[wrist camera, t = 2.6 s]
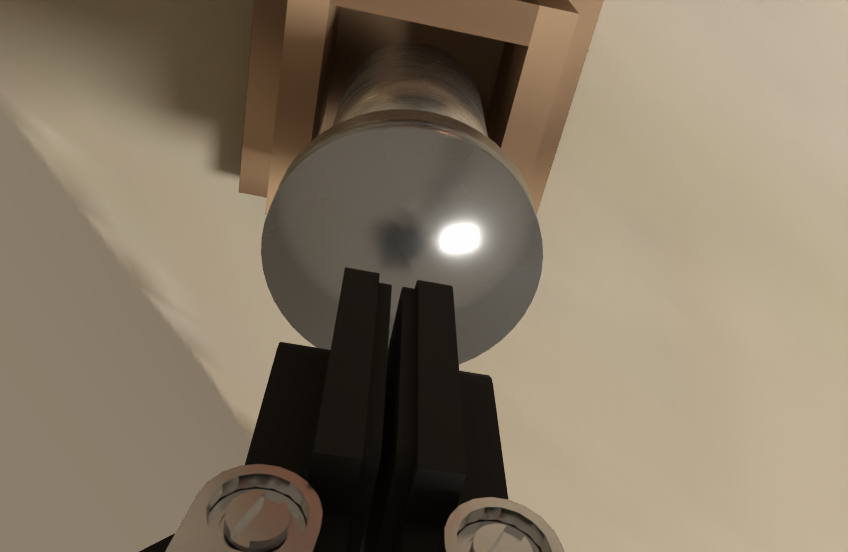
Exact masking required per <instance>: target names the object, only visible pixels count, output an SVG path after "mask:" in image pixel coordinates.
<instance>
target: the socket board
mask: <svg viewBox="0 0 848 552" xmlns="http://www.w3.org/2000/svg"><path fill="white" fill-rule="evenodd" d="M603 1H604V0H255V2H254V14H253V26H252V38H251V50H250V62H249V74H248V86H247V98H246V110H245V122H244V134H243V146H242V158H241V170H240V182H239V192H240V193H246V194H251V195H257V196H262V197H267V202H266V212H265V214H266V215H267V214H268V211H269V208H270V206H271V203H272V201H273V198H274V196H275V194H276V191H277V189H278V186H279V184H280V182H281V180H282V178H283V176H284V174H285V172H286V170H287V168H288V167H289V166H290V164H291V163H292V162H293V160H294V159H295V157H296V156H297V155H298V154H299V153H300V152H301V151H302V150H303V149H304V148H305V147H306V146H307V144H308V143H309V142H311V141H312V140H313V139H315V138H316V137H317V136H319V135H320V134H321V133H323V132H324V131H326V130H327V129H329V128H331V127H332V126H333V122H334V119H335V116H336V113H337V110H338V107H339V104H340V101H341V97H342V94H343V91H344V88H345V86H346V83H347V81H348V79H349V77H350V75H351V74H352V72H353V71H354V70H355V68H356V67H357V66H358V65H359V64H360V63H361V62H362V61H363V60H364V59H365V58H367V57H368V56H369V55H370V54H372V53H374V52H376V51H377V50H379V49H381V48H384V47H386V46H389V45H393V44H397V43H405V42H417V43H424V44H428V45H432V46H435V47H438V48H440V49H442V50H444V51H446V52H448V53H449V54H451V55H453V56H454V57H455V58H456V59H458V60H459V61H460V62H461V63H462V64H463V65H464V66H465V67H466V68H467V70H468V71H469V73H470V74H471V75H472V77H473V79H474V81H475V83H476V85H477V88H478V90H479V94H480V98H481V103H482V108H483V113H484V119H485V124H486V130H487V135H488V138H489V139H491V140H492V141H493V142H495V143H496V144H497V145H498V146H499V147H500V148H501V149H502V150H503V151H504V152H505V153H506V154H507V155H508V156H509V158H510V159H511V160H512V162H513V163H514V164H515V166H516V167H517V168H518V170H519V171H520V173H521V175H522V177H523V179H524V181H525V182H526V184H527V187H528V190H529V193H530V195H531V198H532V201H533V205H534V209H535V212H536V214H537V211H538V208H539V205H540V202H541V198H542V195H543V192H544V189H545V186H546V182H547V179H548V176H549V173H550V170H551V167H552V163H553V160H554V157H555V154H556V151H557V147H558V144H559V141H560V138H561V135H562V131H563V128H564V125H565V122H566V119H567V116H568V112H569V109H570V106H571V103H572V100H573V96H574V93H575V90H576V87H577V84H578V81H579V77H580V74H581V71H582V68H583V65H584V61H585V58H586V55H587V52H588V49H589V45H590V42H591V39H592V36H593V33H594V30H595V26H596V23H597V20H598V17H599V14H600V10H601V7H602V4H603Z"/></svg>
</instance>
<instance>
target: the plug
mask: <svg viewBox="0 0 848 552" xmlns="http://www.w3.org/2000/svg"><path fill="white" fill-rule="evenodd" d="M261 256H262V264H263V271H264V275H265V278H266V282H267V286H268V288H269V290H270V293H271V295H272V297H273V299H274V301H275V303H276V305H277V306H278V308H279V309H280V311H281V313H282V314H283V316H284V317H285V318H286V319H287V321H288V322H289V323H290V324H291V325H292V327H293V328H294V329H295V330H296V331H297V332H299V333H300V334H301V335H302V336H303V337H304V338H305V339H306V340H308V341H309V342H310V343H311V344H313V345H314V346H315V347H317V348H321V349H327V350H331V344H332V339H333V333H334V327H335V321H336V316H337V310H338V304H339V299H340V293H341V287H342V281H343V276H344V270H345V267H347V268H353V269H358V270H364V271H370V272H376V273H380V276H379V283H385V284H391V285H392V292H391V308H390V325H389V341H388V347H389V343H390V338H391V333H392V329H393V324H394V320H395V315H396V311H397V306H398V302H399V297H400V293H401V289H402V287H408V288H415V285H416V282H417V280H422V281H428V282H434V283H439V284H445V285H451V286H453V295H454V308H455V322H456V335H457V349H458V363H459V364H461V363H463V362H466V361H468V360H470V359H473V358H475V357H477V356H478V355H480V354H482V353H483V352H485V351H487V350H489V349H490V348H491V347H493V346H494V345H495V344H497V343H498V342H499V341H501V340H502V339H503V338H504V337H505V336H506V335H507V334H508V333H509V332H510V331H511V330H512V329H513V328H514V327H515V326H516V324H517V323H518V322H519V321H520V319H521V318H522V317H523V316H524V314H525V312H526V310H527V309H528V307H529V305H530V304H531V302H532V300H533V297H534V295H535V292H536V290H537V287H538V283H539V279H540V276H541V270H542V260H543V249H542V238H541V233H540V228H539V223H538V220H537V216H536V212H535V209H534V205H533V201H532V198H531V195H530V193H529V190H528V187H527V184H526V182H525V181H524V179H523V177H522V175H521V173H520V171H519V170H518V168H517V167H516V166H515V164H514V163H513V162H512V160H511V159H510V158H509V156H508V155H507V154H506V153H505V152H504V151H503V150H502V149H501V148H500V147H499V146H498V145H497V144H496V143H495V142H493V141H492V140H491V139H489V138H488V135H487V130H486V124H485V119H484V113H483V108H482V103H481V98H480V94H479V90H478V88H477V85H476V83H475V81H474V79H473V77H472V75H471V74H470V73H469V71H468V70H467V68H466V67H465V66H464V65H463V64H462V63H461V62H460V61H459V60H458V59H456V58H455V57H454V56H453V55H451V54H449V53H448V52H446V51H444V50H442V49H440V48H438V47H435V46H432V45H428V44H424V43H417V42H405V43H397V44H393V45H389V46H386V47H384V48H381V49H379V50H377V51H376V52H374V53H372V54H370V55H369V56H368V57H367V58H365V59H364V60H363V61H362V62H361V63H360V64H359V65H358V66H357V67H356V68H355V70H354V71H353V72H352V74H351V75H350V77H349V79H348V81H347V83H346V86H345V88H344V91H343V94H342V97H341V101H340V104H339V107H338V110H337V113H336V116H335V119H334V122H333V126H332V127H331V128H329V129H327V130H326V131H324V132H323V133H321V134H320V135H319V136H317V137H316V138H315V139H313V140H312V141H311V142H309V143H308V144H307V146H306V147H305V148H304V149H303V150H302V151H301V152H300V153H299V154H298V155H297V156H296V157H295V159H294V160H293V162H292V163H291V164H290V166H289V167H288V168H287V170H286V172H285V174H284V176H283V178H282V180H281V182H280V184H279V186H278V189H277V191H276V194H275V196H274V198H273V201H272V203H271V206H270V208H269V211H268V214H267V217H266V220H265V223H264V229H263V234H262V248H261Z"/></svg>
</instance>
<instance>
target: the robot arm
mask: <svg viewBox="0 0 848 552" xmlns="http://www.w3.org/2000/svg"><path fill="white" fill-rule="evenodd" d="M379 276H380V273H376V272H370V271H364V270H358V269H353V268H347V267H345V270H344V276H343V281H342V287H341V293H340V299H339V304H338V310H337V316H336V321H335V327H334V333H333V339H332V344H331V350H327V349H321V348H315V347H309V346H302V345H296V344H290V343H284V342H280V343H279V345H278V348H277V351H276V355H275V359H274V362H273V366H272V369H271V373H270V377H269V380H268V384H267V387H266V391H265V394H264V398H263V402H262V405H261V409H260V412H259V416H258V420H257V423H256V427H255V430H254V434H253V438H252V441H251V445H250V449H249V452H248V455H247V459H246V463H245V465H242V466H238V467H235V468H232V469H229V470H226V471H223V472H221V473H220V474H218V475H217V476H215V477H214V478H212V479H211V480H209V481H208V482H207V483H206V484H205V485H204V487H203V488H202V489H201V490H200V491H199V493H198V494H197V495H196V497H195V499H194V501H193V503H192V504H191V506H190V508H189V510H188V511H187V513H186V515H185V517H184V519H183V520H182V522H181V524H180V526H179V528H178V530H177V531H176V533H175V534H173V535H171V536H169V537H167V538H165V539H163V540H161V541H159V542H157V543H155V544H153V545H151V546H149V547H147V548H145V549H144V550H142V551H140V552H564V549H563V546H562V544H561V542H560V541H559V539H558V537H557V535H556V533H555V531H554V530H553V529H552V528H551V527H550V526H549V525H548V523H547V522H546V521H545V520H544V519H543V518H542V517H541V516H539V515H538V514H536V513H535V512H533V511H532V510H530V509H529V508H527V507H526V506H523V505H521V504H518V503H516V502H513V501H511V500H508V494H507V487H506V479H505V472H504V464H503V457H502V449H501V442H500V434H499V427H498V419H497V412H496V404H495V397H494V389H493V383H492V379H491V377H490V376H489V375H482V374H476V373H470V372H464V371H459V363H458V349H457V335H456V322H455V308H454V295H453V286H451V285H445V284H439V283H434V282H428V281H422V280H417V282H416V285H415V288H408V287H402V289H401V293H400V297H399V302H398V306H397V311H396V315H395V320H394V324H393V329H392V333H391V338H390V343H389V347H388V341H389V325H390V308H391V292H392V285H391V284H385V283H379Z"/></svg>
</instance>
